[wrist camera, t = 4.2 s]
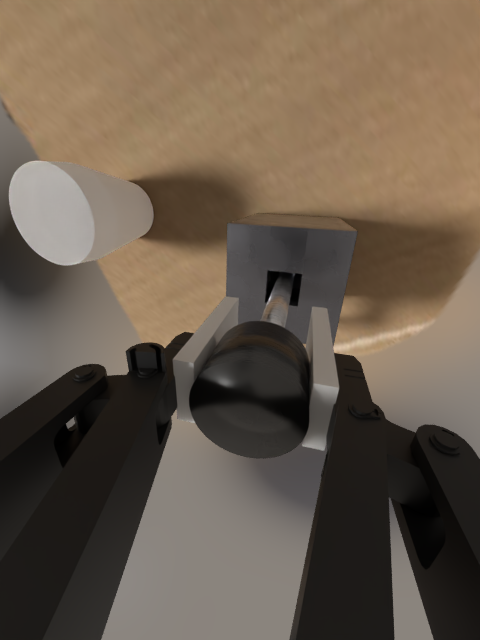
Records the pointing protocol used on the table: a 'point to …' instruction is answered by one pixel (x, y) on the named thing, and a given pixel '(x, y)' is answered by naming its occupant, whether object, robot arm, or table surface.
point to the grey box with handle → (290, 265)
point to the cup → (76, 211)
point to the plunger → (257, 382)
